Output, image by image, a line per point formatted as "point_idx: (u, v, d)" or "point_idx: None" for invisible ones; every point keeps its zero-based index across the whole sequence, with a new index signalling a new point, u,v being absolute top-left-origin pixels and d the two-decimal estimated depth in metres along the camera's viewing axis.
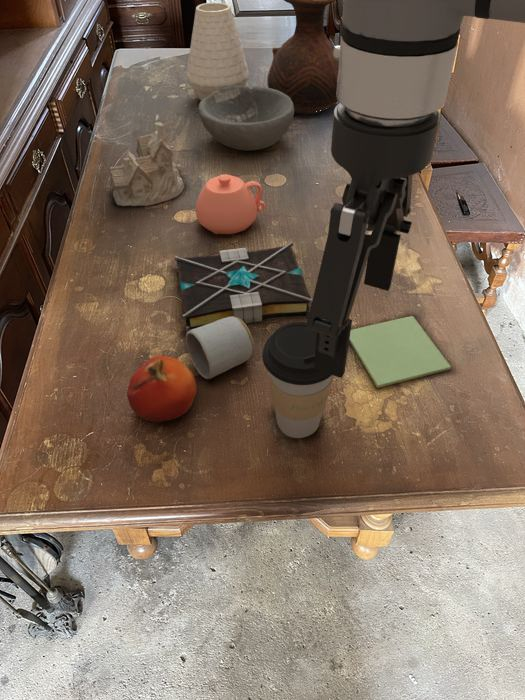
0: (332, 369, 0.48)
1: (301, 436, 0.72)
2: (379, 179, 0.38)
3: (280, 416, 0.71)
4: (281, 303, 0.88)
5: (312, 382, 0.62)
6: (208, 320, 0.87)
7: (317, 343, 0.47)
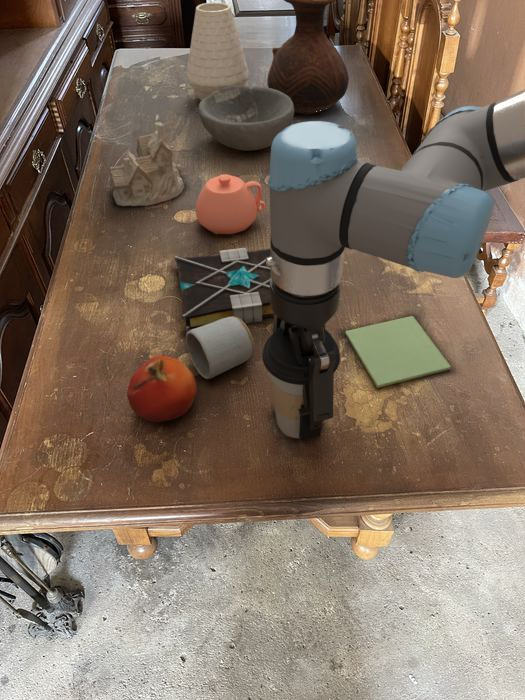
0: (314, 434, 0.70)
1: None
2: (325, 323, 0.57)
3: (280, 416, 0.71)
4: None
5: None
6: (208, 320, 0.87)
7: (303, 425, 0.67)
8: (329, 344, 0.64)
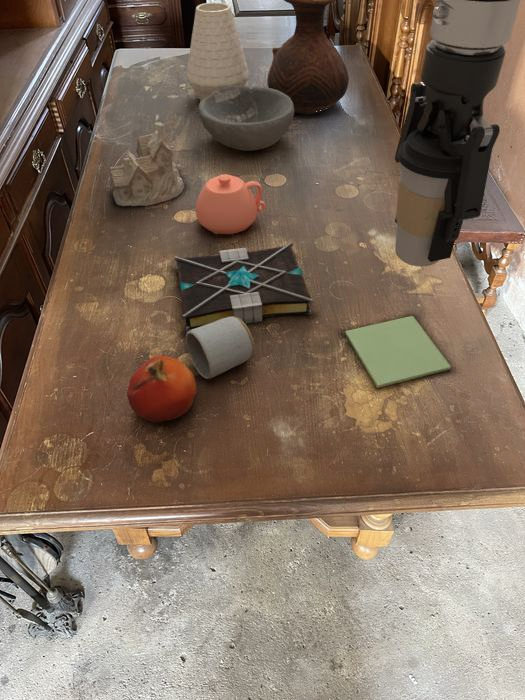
0: (444, 254, 0.66)
1: (425, 263, 0.68)
2: (487, 93, 0.53)
3: (406, 237, 0.67)
4: (281, 303, 0.88)
5: (458, 177, 0.58)
6: (208, 320, 0.87)
7: (437, 238, 0.63)
8: None
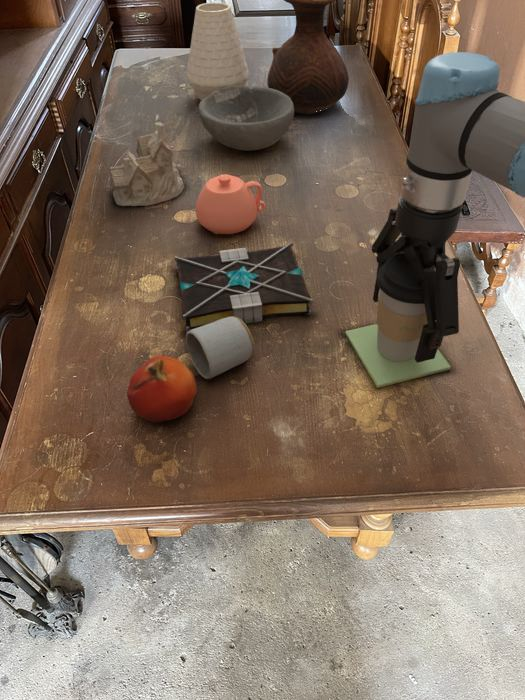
0: (429, 356, 0.75)
1: (402, 359, 0.81)
2: (448, 238, 0.66)
3: (385, 340, 0.79)
4: (281, 303, 0.88)
5: None
6: (208, 320, 0.87)
7: (422, 345, 0.73)
8: None
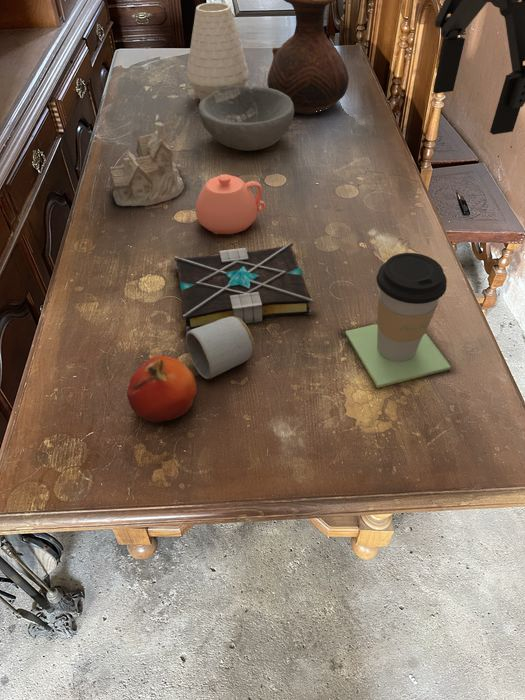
0: (507, 126, 0.65)
1: (402, 359, 0.81)
2: None
3: (385, 340, 0.79)
4: (281, 303, 0.88)
5: (425, 302, 0.71)
6: (208, 320, 0.87)
7: (502, 106, 0.62)
8: (438, 270, 0.73)
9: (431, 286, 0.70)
